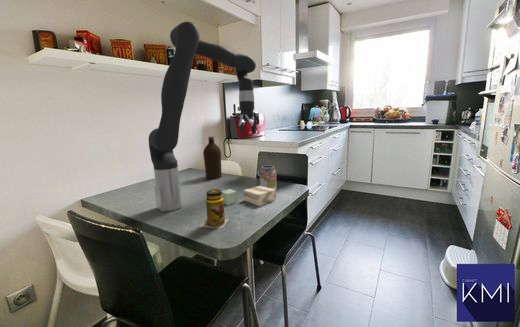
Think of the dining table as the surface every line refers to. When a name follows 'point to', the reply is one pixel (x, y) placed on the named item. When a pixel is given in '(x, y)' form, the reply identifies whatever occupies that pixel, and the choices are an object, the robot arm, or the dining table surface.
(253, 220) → the dining table surface
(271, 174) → the patterned jar
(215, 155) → the olive oil
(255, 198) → the maple block
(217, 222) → the condiment
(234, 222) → the dining table surface
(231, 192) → the green cube
